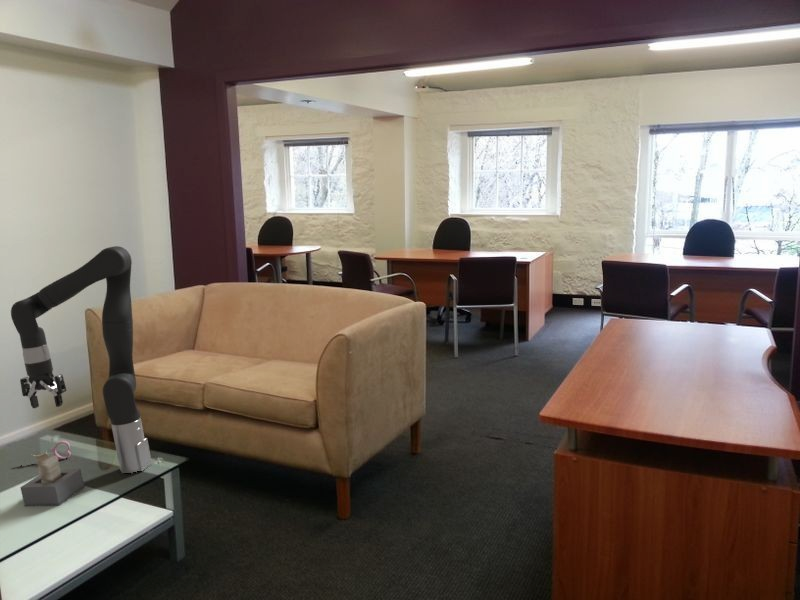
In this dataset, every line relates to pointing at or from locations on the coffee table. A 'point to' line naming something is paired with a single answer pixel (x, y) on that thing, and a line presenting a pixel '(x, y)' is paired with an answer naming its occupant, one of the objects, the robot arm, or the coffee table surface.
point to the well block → (52, 489)
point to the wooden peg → (49, 469)
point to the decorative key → (55, 451)
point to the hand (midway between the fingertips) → (47, 406)
